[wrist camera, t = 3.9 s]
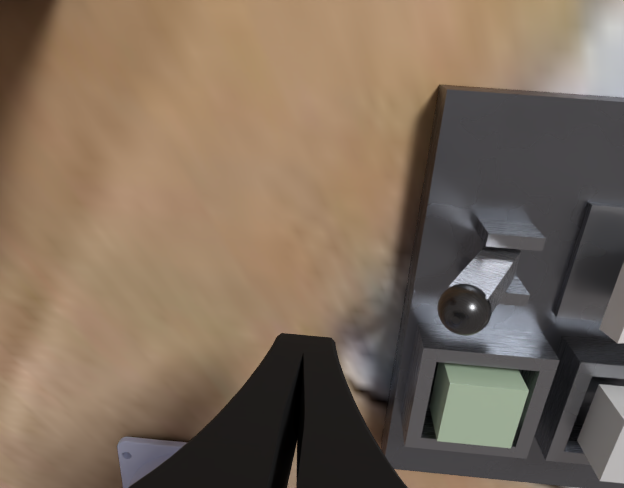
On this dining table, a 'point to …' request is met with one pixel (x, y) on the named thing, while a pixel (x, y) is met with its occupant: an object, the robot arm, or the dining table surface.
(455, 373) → the button
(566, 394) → the panel
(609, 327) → the rocker
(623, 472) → the button
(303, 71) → the dining table surface
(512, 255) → the toggle lever
